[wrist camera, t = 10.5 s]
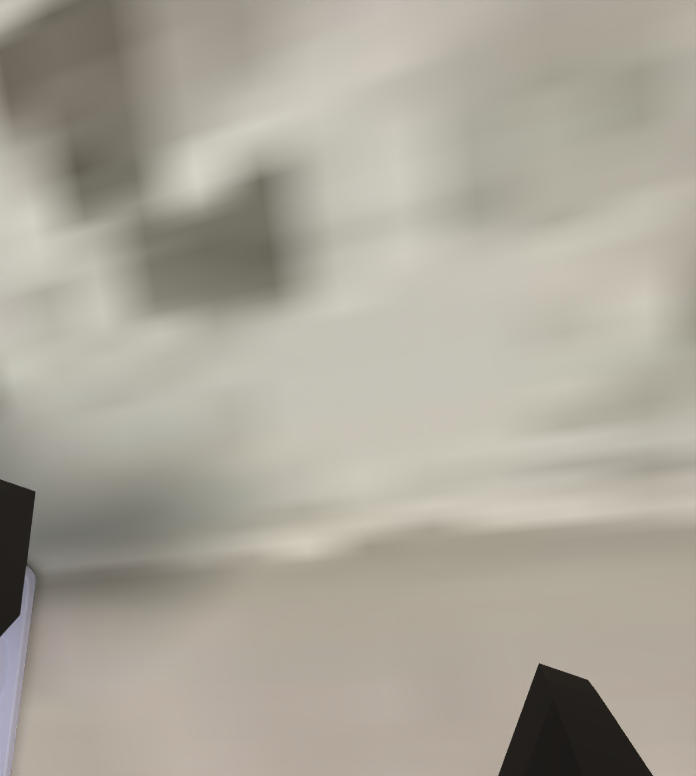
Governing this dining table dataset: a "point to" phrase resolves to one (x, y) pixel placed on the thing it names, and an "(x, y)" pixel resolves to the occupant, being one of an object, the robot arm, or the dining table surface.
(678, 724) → the dining table surface
